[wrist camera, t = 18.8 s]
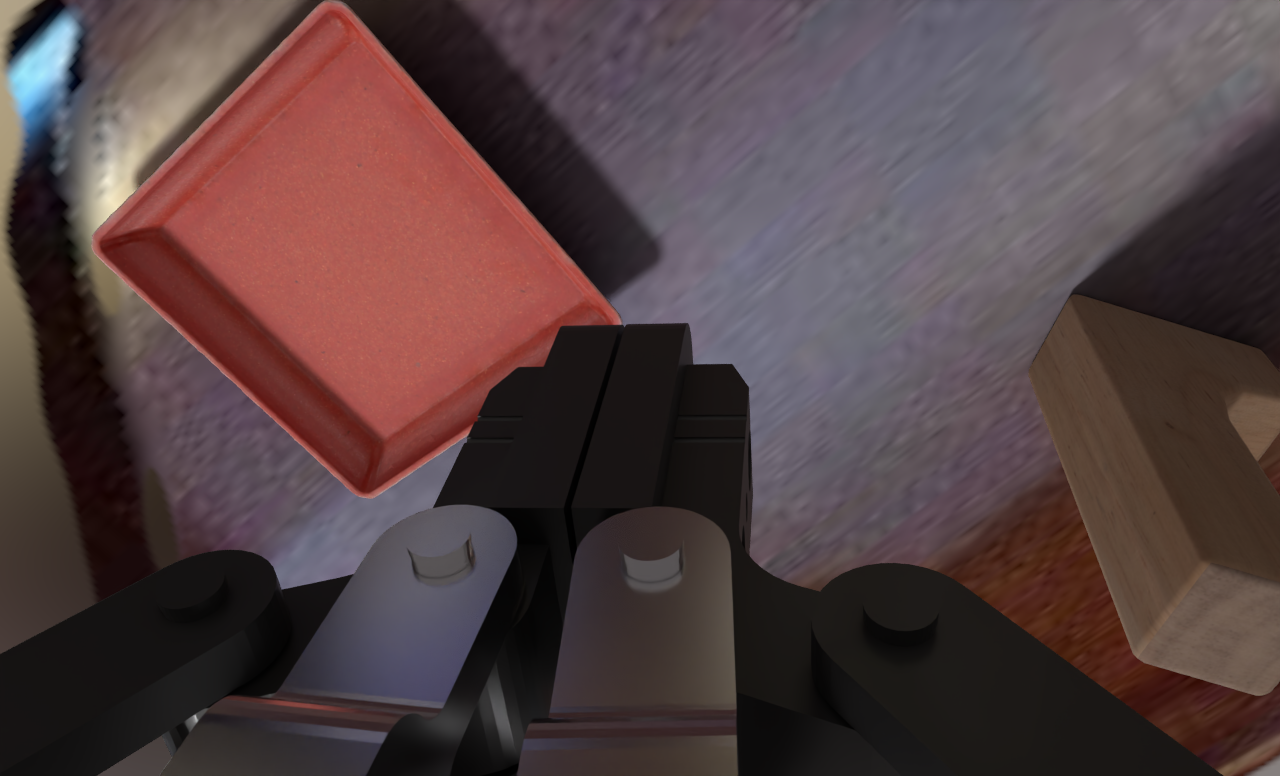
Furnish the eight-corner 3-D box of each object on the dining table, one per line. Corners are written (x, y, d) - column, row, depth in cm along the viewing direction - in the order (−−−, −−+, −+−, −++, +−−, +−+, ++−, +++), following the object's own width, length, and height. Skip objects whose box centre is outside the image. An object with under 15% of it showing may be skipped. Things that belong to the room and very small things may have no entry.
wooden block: (1264, 347, 45) (1504, 647, 30) (1208, 428, 47) (1403, 743, 32) (1069, 288, 45) (1210, 560, 29) (1023, 372, 47) (1131, 664, 32)
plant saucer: (385, 470, 56) (363, 508, 53) (119, 218, 50) (78, 246, 47) (641, 295, 48) (631, 328, 45) (363, -28, 42) (332, -13, 39)
